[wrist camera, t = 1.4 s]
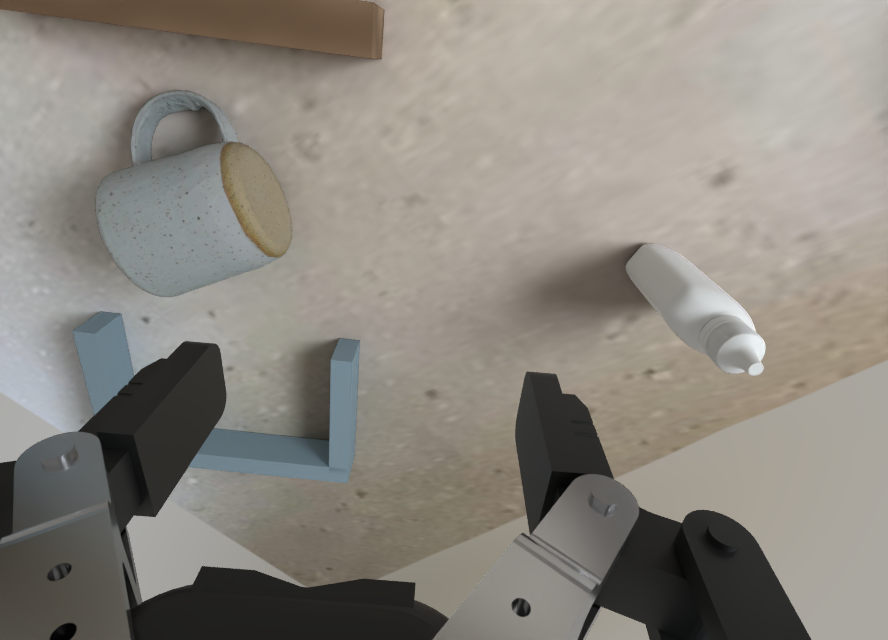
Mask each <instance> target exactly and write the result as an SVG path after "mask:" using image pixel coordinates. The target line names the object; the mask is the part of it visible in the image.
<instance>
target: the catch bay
mask: <svg viewBox="0 0 888 640" xmlns="http://www.w3.org/2000/svg"><path fill="white" fill-rule="evenodd" d="M72 332H73V336H74V340H75V343H76V347H77V351H78V355H79V359H80V363H81V367H82V370H83V374H84V378H85V382H86V386H87V390H88V393H89V397H90V401H91V405H92V409H93V413H94V415H95V414H96V413H97V412H98V411H99V410H100V409H101V408H102V407H104V406H105V405H106V404H107V403H108V402H109V401H110V400H111V399H112V398H113V397H114V396H117V393H118V392H119V391H120V390H121V389H122V388H123V387H124V386H125V385H128V382H129V381H130V380H131V379H132V378H133V377H134V374H133V369H132V364H131V359H130V355H129V350H128V345H127V340H126V335H125V330H124V325H123V320H122V315H121V314H117V313H109V312H99V313H98V314H96V315H95V316H93V317H92V318H91V319H89V320H88V321H86V322H85V323H83V324H82V325H81V326H79V327H78V328H76V329H75V330H73V331H72ZM359 346H360V341H358V340H350V339H341V338H340V339H339V341H338V344H337V346H336V348H335V351H334V353H333V356H332V358H331V374H330V438H329V441H328V440H319V439H309V438H300V437H290V436H280V435H271V434H261V433H252V432H242V431H232V430H223V429H213V430H212V431H211V433H210V435H209V436H208V438H207V439H206V441H205V442H204V444H203V445H202V447H201V448H200V450H199V451H198V453H197V454H196V456H195V457H194V459H193V460H192V462H191V463H190V465H189V466H188V467H192V468H202V469H212V470H222V471H232V472H242V473H252V474H261V475H271V476H281V477H291V478H301V479H311V480H321V481H331V482H341V483H348V480H349V476H350V472H351V468H352V464H353V460H354V453H355V432H356V411H357V389H358V368H359Z"/></svg>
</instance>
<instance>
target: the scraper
mask: <svg viewBox="0 0 888 640" xmlns="http://www.w3.org/2000/svg"><path fill="white" fill-rule="evenodd" d="M0 9H4V10H12V11H19V12H27V13H34V14H42V15H49V16H57V17H64V18H72V19H79V20H87V21H94V22H102V23H109V24H116V25H124V26H131V27H139V28H146V29H154V30H161V31H169V32H176V33H184V34H191V35H199V36H206V37H214V38H221V39H229V40H236V41H244V42H251V43H259V44H266V45H274V46H281V47H289V48H296V49H304V50H311V51H319V52H326V53H333V54H341V55H348V56H356V57H363V58H371V59H382V45H383V27H384V9H382V8H381V7H379V6H378V5H377V4H375V3H374V2H367V1H359V0H0Z"/></svg>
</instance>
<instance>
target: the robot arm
mask: <svg viewBox="0 0 888 640" xmlns="http://www.w3.org/2000/svg"><path fill="white" fill-rule="evenodd" d="M225 404H226V387H225V381H224V374H223V367H222V360H221V353H220V349H219V347H218V345H217V344H212V343H201V342H189V341H185V342H183V343H182V344H181V345H180V346H179V347H178V348H177V349H176V350H175V351H174V352H173V353H172V354H171V355H170V356H169V357H168V358H167V359H162V358H161V359H159V360H157V361H156V362H154V363H152V364H150V365H148V366H146V367H144V368H143V369H141V370H140V371H139V372H138V373H137V374H136V375H135V376H134V377H133V378H132V379H131V380H130V381H129V382H128V385H125V386H124V387H123V388H122V389H121V390H120V391H119V392H118V393H117V396H114V397H113V398H112V399H111V400H110V401H109V402H108V403H107V404H106V405H105V406H104V407H102V408H101V409H100V410H99V411H98V412H97V413H96V414H95V415H94V416H93V417H92V418H91V419H90V420H89V421H88V422H87V423H86V424H85V425H84V426H83V427H82V428H81V429H80V430H79V431H78V432H68V433H63V434H59V435H55V436H52V437H49V438H47V439H44V440H42V441H40V442H38V443H36V444H34V445H33V446H31V447H30V448H29V449H27V450H26V451H25V452H24V453H23V454H21V456H20V457H19V458H18V459H17V461H11V462H4V463H0V640H585V639H586V637H587V635H588V633H589V632H590V630H591V628H592V626H593V624H594V622H595V620H596V618H597V617H598V615H599V613H600V611H601V609H602V607H604V608H607V609H609V610H611V611H614V612H616V613H619V614H621V615H624V616H626V617H629V618H631V619H634V620H636V621H639V622H642V623H644V624H646V628H647V631H648V635H649V639H650V640H811V638H810V636H809V634H808V633H807V631H806V629H805V627H804V625H803V624H802V622H801V620H800V618H799V616H798V615H797V613H796V611H795V609H794V607H793V606H792V604H791V602H790V600H789V598H788V597H787V595H786V593H785V591H784V589H783V588H782V586H781V584H780V582H779V580H778V579H777V577H776V575H775V573H774V571H773V570H772V568H771V566H770V564H769V562H768V561H767V559H766V557H765V555H764V553H763V551H762V550H761V548H760V546H759V544H758V543H757V541H756V540H755V538H754V537H753V536H752V535H751V533H750V532H748V530H746V529H745V528H744V527H743V526H742V525H740V524H739V523H738V522H736V521H734V520H733V519H731V518H729V517H727V516H725V515H723V514H720V513H717V512H714V511H709V510H696V511H693V512H691V513H689V514H688V515H687V516H686V517H685V519H684V520H683V523H680V522H677V521H674V520H671V519H668V518H665V517H661V516H659V515H656V514H653V513H651V512H648V511H646V510H644V509H642V508H640V507H639V506H638V503H637V500H636V498H635V497H634V495H633V494H632V493H631V492H630V491H629V490H628V489H627V488H626V487H625V486H624V485H622V484H621V483H619V482H618V481H616V480H614V478H613V475H612V472H611V470H610V467H609V464H608V462H607V459H606V456H605V453H604V451H603V448H602V445H601V443H600V440H599V437H597V432H596V429H595V427H594V425H593V421H592V419H591V416H590V413H589V411H588V408H587V407H586V406H585V405H584V404H583V403H582V402H581V401H580V400H579V399H578V397H577V396H576V395H572V394H562V391H561V388H560V384H559V381H558V378H557V375H556V374H550V373H539V372H527V373H526V375H525V378H524V383H523V388H522V393H521V398H520V403H519V409H518V414H517V419H516V429H515V438H516V447H517V453H518V460H519V466H520V473H521V479H522V486H523V492H524V499H525V506H526V512H527V519H528V525H529V531H530V536H529V537H528V536H527V535H525V534H524V533H522V534H520V535H519V536H517V537H516V538H515V539H514V541H513V542H512V543H511V544H510V545H509V547H508V548H507V549H506V550H505V551H504V553H503V554H502V555H501V556H500V558H499V559H498V560H497V561H496V562H495V564H494V565H493V566H492V567H491V569H490V570H489V571H488V573H486V575H485V576H484V577H483V578H482V580H481V581H480V582H479V583H478V584H477V586H476V587H475V588H474V590H473V591H472V592H471V593H470V594H469V595H468V597H467V598H466V599H465V600H464V602H463V603H462V604H461V605H460V607H459V608H458V609H457V610H456V612H455V613H454V614H453V615H452V616H451V617H450V619H448V618H447V617H446V616H444V615H443V614H441V613H440V612H438V611H437V610H435V609H433V608H431V607H429V606H427V605H425V604H423V603H421V602H418V601H415V600H414V595H415V583H412V582H398V581H386V580H373V579H359V580H353V581H347V582H341V583H335V584H328V585H322V586H316V587H309V588H306V587H300V586H297V585H295V584H292V583H289V582H286V581H283V580H281V579H278V578H275V577H272V576H269V575H266V574H264V573H261V572H258V571H255V570H244V569H231V568H218V567H217V568H216V567H205V566H204V567H203V566H202V567H201V569H200V572H199V573H198V576H197V577H196V579H195V581H194V583H193V585H187V586H184V587H180V588H176V589H173V590H170V591H167V592H165V593H162V594H159V595H157V596H155V597H153V598H151V599H148V600H146V601H144V602H142V598H141V594H140V588H139V583H138V578H137V573H136V569H135V563H134V558H133V553H132V548H131V544H130V538H129V534H128V531H127V527H126V526H127V524H128V523H129V521H130V520H131V518H132V517H133V516H134V515H136V516H149V517H156V515H157V514H158V512H159V510H160V509H161V508H162V506H163V504H164V503H165V501H166V500H167V498H168V497H169V495H170V494H171V492H172V491H173V489H174V488H175V486H176V485H177V483H178V482H179V480H180V479H181V477H182V476H183V474H184V473H185V471H186V470H187V468H188V466H189V465H190V463H191V462H192V460H193V459H194V457H195V456H196V454H197V453H198V451H199V450H200V448H201V447H202V445H203V444H204V442H205V441H206V439H207V438H208V436H209V435H210V433H211V431H212V430H213V428H214V427H215V425H216V424H217V422H218V421H219V419H220V418H221V416H222V414H223V412H224V408H225Z"/></svg>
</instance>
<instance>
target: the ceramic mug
mask: <svg viewBox="0 0 888 640" xmlns="http://www.w3.org/2000/svg"><path fill="white" fill-rule="evenodd" d="M203 107H205V108H206V109H207V110H208V111H209V112H210V113H211V114H212V115H213V116H214V119H215V121H216V123H217V125H218V127H219V130H220V134H221V136H222V142H221V143H214V144H210V145H205V146H202V147H199V148H196V149H193V150H190V151H187V152H184V153H180V154H177V155H174V156H170V157H166V158H162V159H157V160H154V161H152V152H151V151H152V148H151V147H152V138H153V134H154V132H155V129H156V127H157V125H158V123H159V121H160V120H161V119H162V118H164V117H165V116H166V115H167V114H170V113H175V112H179V111H183V110H193V111H197V110H199V109H201V108H203ZM131 156H132V164H133V166H132V167H129V168H126V169H122V170H119V171H115V172H113V173H111V174H110V175H108V176H106V177H105V178H104V179H103V180H102V181H101V183H100V185H99V187H98V190H97V192H96V198H95V213H96V219H97V223H98V228H99V232H100V235H101V238H102V240H103V242H104V244H105V246H106V249H107V250H108V251H109V254H110V256H111V257H112V259H113V260H114V262H115V263H116V265H117V266H118V267H119V268H120V270H121V271H122V272H123V273H124V274H125V275H126V276H127V277H128V278H129V279H130V280H131V281H132V282H133V283H134V284H135V285H136V286H138V287H139V288H141V289H142V290H144V291H146V292H148V293H150V294H153V295H156V296H160V297H175V296H178V295H181V294H184V293H187V292H189V291H192V290H195V289H198V288H201V287H204V286H207V285H210V284H213V283H216V282H219V281H222V280H225V279H227V278H230V277H233V276H235V275H238V274H241V273H245V272H248V271H251V270H254V269H257V268H260V267H263V266H265V265H267V264H269V263H270V262H272V261H274V260H276V259H278V258H280V257H281V256H282V255H284V254H285V253H286V251H287V250H288V248H289V245H290V243H291V239H292V222H291V216H290V211H289V208H288V205H287V202H286V199H285V196H284V193H283V191H282V189H281V187H280V185H279V182H278V180H277V178H276V177H275V175H274V173H273V171H272V170H271V168H270V167H269V165H268V164H267V163H266V161H265V160H264V159H263V158H262V157H261V156H260V155H259V154H258V153H257V152H256V151H255V150H253V149H252V148H250V147H249V146H247V145H245V144H243V143H239V142H238V140H237V134H236V131H235V129H234V127H233V125H232V124H231V122H230V120H229V118H228V117H227V115H226V114H225V113H224V112H223V111H222V110H221V109H220V108H219V107H218V106H217V105H216V104H214V103H213V102H212V101H210V100H208V99H207V98H205V97H203V96H201V95H199V94H196V93H193V92H190V91H182V90H175V91H170V92H166V93H162V94H159V95H157V96H155V97H153V98H151V99H150V100H149V101H147V102H146V103H145V104H144V105H143V107H142V108H141V109H140V111H139V113H138V115H137V117H136V119H135V122H134V125H133V129H132V135H131Z"/></svg>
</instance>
